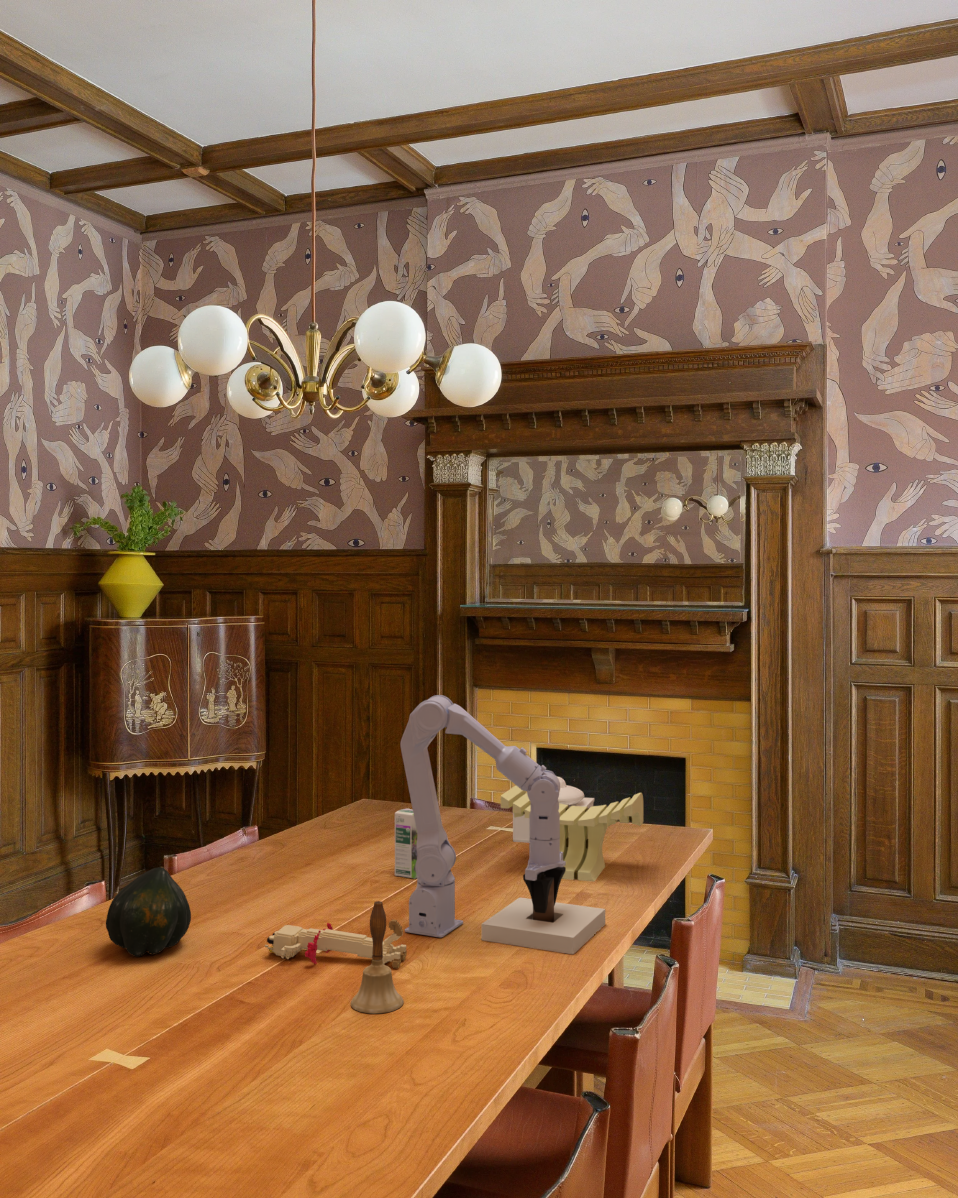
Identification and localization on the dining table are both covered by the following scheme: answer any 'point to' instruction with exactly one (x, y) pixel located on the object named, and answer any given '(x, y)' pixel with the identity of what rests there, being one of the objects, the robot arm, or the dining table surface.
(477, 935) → the dining table surface
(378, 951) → the hand bell
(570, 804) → the butter dish
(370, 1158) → the dining table surface
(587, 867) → the slatted curved stool
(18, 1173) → the dining table surface
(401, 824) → the syrup box
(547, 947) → the socket board
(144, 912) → the squash
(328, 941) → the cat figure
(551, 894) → the peg
